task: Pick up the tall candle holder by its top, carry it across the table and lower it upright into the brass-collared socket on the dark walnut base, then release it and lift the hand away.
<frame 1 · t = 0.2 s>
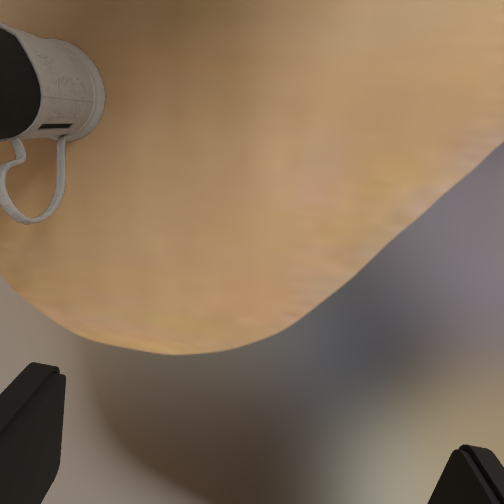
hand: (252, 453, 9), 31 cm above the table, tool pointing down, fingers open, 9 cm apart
grey and black mug: (70, 121, 37), on the table
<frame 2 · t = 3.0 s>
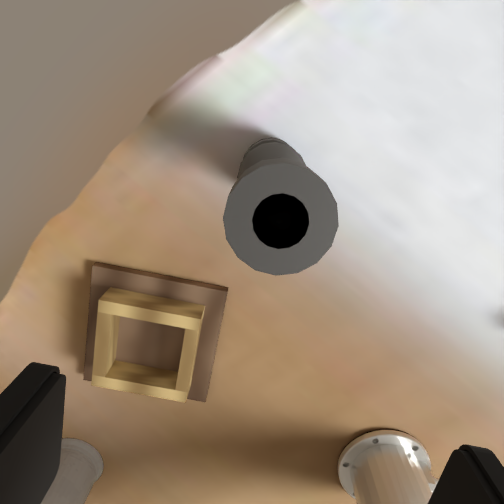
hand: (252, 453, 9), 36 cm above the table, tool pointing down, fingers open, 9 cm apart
socket base: (154, 332, 50), on the table
grey and black mug: (66, 473, 58), on the table
candle holder: (270, 167, 43), on the table
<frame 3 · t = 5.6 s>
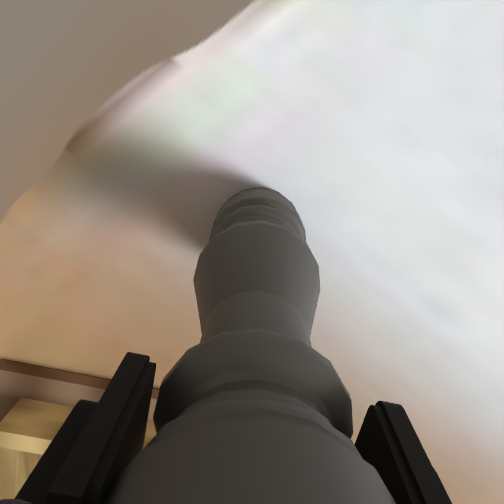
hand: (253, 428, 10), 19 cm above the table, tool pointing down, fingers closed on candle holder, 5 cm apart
socket base: (92, 452, 35), on the table
candle holder: (258, 230, 28), on the table, touching gripper
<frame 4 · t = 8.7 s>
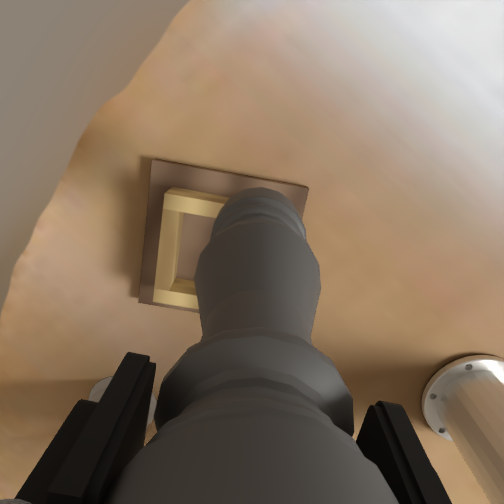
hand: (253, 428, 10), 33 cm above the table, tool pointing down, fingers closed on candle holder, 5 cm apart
socket base: (220, 245, 43), on the table
grey and black mug: (114, 417, 52), on the table
candle holder: (258, 229, 28), point 14 cm above the table, touching gripper
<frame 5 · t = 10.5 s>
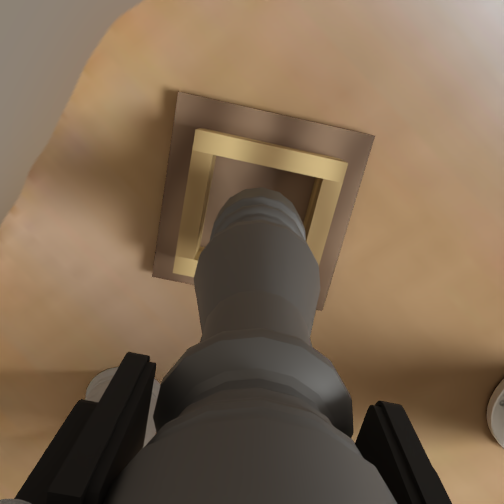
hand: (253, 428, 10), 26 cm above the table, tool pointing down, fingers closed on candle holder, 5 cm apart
socket base: (256, 207, 35), on the table
grey and black mug: (116, 417, 43), on the table
candle holder: (258, 229, 28), point 7 cm above the table, touching gripper
when the fingers open (21 cm above the table, at t = 12.1 s): candle holder stays where it is, resting on socket base.
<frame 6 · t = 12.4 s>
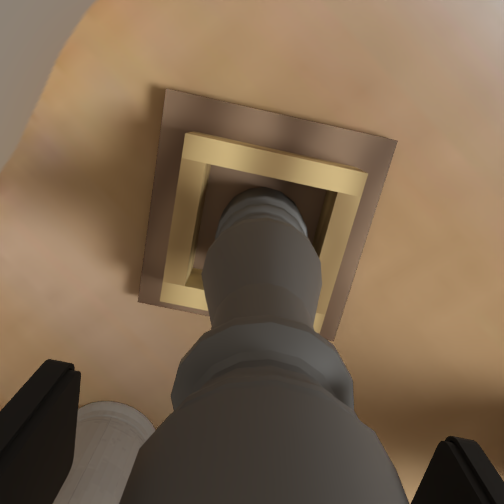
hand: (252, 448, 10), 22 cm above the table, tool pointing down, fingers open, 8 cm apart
socket base: (258, 223, 30), on the table
grey and black mug: (99, 456, 38), on the table
candle holder: (261, 228, 29), point 1 cm above the table, touching socket base
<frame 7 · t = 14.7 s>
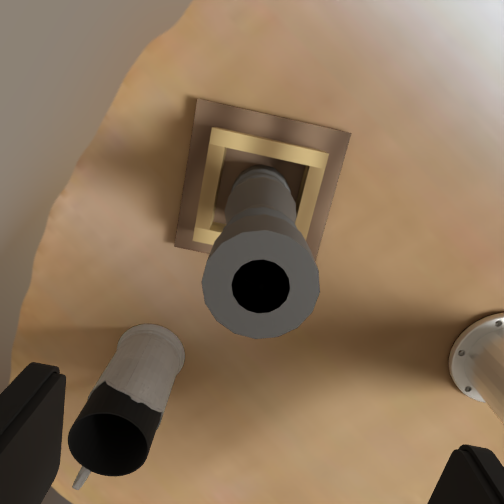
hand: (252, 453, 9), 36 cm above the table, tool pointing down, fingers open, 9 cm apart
socket base: (258, 190, 44), on the table
grey and black mug: (141, 368, 52), on the table
candle holder: (260, 193, 43), point 1 cm above the table, touching socket base
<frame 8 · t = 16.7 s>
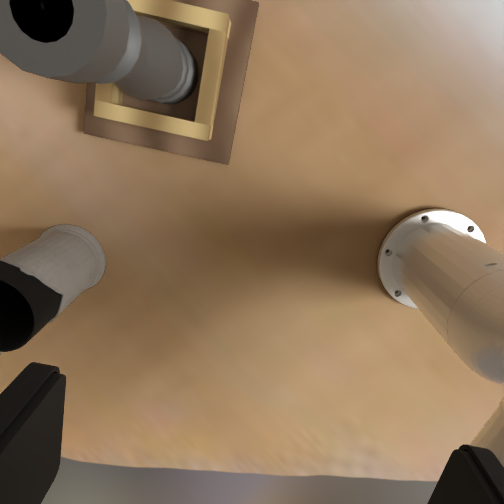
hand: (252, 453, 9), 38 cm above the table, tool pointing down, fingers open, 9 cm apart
socket base: (169, 72, 42), on the table
grey and black mug: (62, 274, 50), on the table
candle holder: (169, 72, 41), point 1 cm above the table, touching socket base
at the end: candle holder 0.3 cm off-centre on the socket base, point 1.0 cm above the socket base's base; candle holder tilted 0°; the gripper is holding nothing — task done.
